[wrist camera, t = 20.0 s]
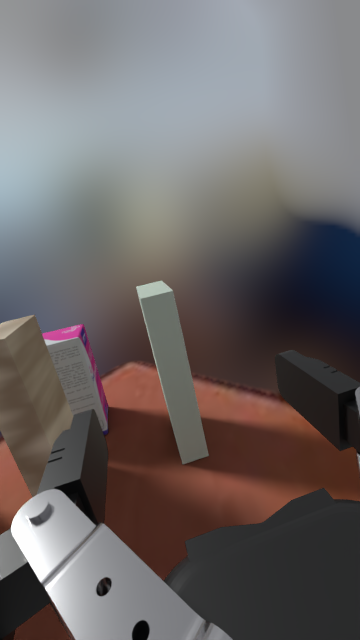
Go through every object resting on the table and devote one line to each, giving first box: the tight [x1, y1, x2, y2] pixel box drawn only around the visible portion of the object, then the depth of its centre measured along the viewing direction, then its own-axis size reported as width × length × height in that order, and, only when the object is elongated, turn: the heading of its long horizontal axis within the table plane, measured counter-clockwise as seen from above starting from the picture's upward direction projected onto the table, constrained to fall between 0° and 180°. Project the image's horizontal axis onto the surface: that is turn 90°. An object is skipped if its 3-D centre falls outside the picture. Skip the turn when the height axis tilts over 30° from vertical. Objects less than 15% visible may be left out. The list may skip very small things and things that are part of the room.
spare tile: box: [136, 281, 209, 464], centre depth 25 cm, size 2×6×15 cm, turn 11°
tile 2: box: [0, 315, 73, 497], centre depth 21 cm, size 2×6×15 cm, turn 11°
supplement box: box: [42, 324, 108, 435], centre depth 30 cm, size 6×6×12 cm
